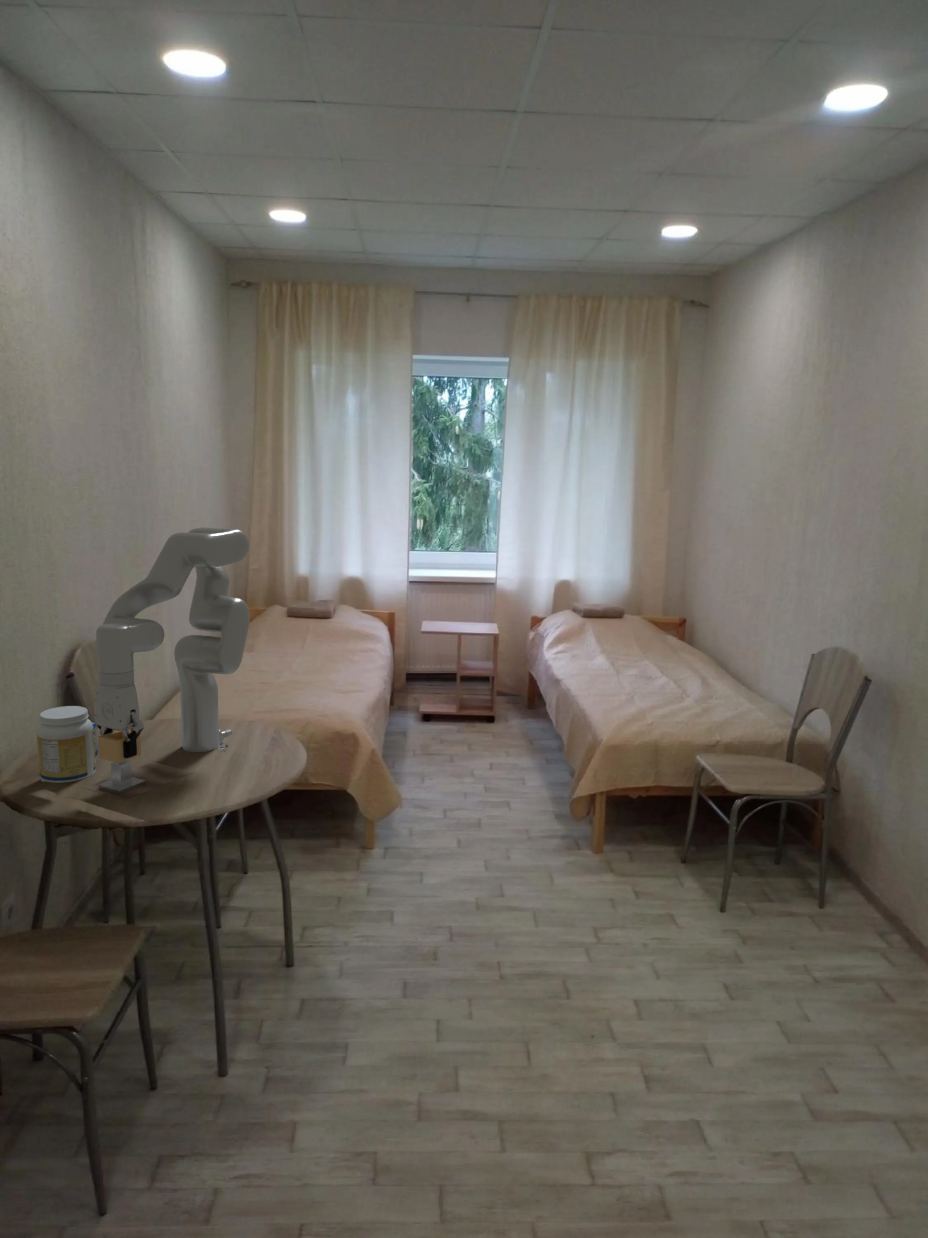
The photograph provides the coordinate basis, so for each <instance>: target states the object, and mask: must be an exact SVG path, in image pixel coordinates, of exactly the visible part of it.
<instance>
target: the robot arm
mask: <svg viewBox="0 0 928 1238" xmlns="http://www.w3.org/2000/svg"><path fill="white" fill-rule="evenodd" d="M249 549H250V541H249V539H248V537H247V535H246V534H245V533H244V531H242V530H240V529H236V528H218V527H195V528H193V529H191V530H189V531H187V532H185V531H184V532H183V531H182V532H176V533H174V534H171V535H170V536H169V537H168V538H167V540H166V542H165V543H164V545H163V547H162V549H161V550H160V552H159V554H158V556H157V558H156V559H155V562H154V563H153V565H152V566H151V569H150V570H149V573H148V575H147V576H146V577H145V578H144V579H142V580H141V581H139V582H137V583H135V584H134V585H133V586H132V587H131V588H129V589H127V590H126V591H124V592H123V593H122V594H121V595H119V597H118V598H117V599H116V600H115V601H114V603H112V606H111V607H110V609H109V610H108V613H107V614H106V616H105V618H104V621H102V622H103V623H102V625H99V626H98V627H97V629H96V631H95V639H96V640H95V641H96V642H95V643H96V657H97V658H96V659H97V676H98V677H97V678H98V679H97V681H98V683H96V687H95V692H94V695H95V696H94V715H93V720H94V723H96V727H98V729H99V730H100V731H99V734H100V735H99V736H102V735H105V734H108V733H112V732H115V731H118V730H119V731H122V732H123V735H124V738H125V741H123V747H124V758H130V757H132V756H135V755H137V740H136V739H138V736H139V735H140V736H141V733H142V732H143V730H144V729H145V725H144V724H143V722H142V720H141V719H140V708H139V707H140V706H139V699H138V693H137V692H138V691H137V689H136V688H137V687H136V684H135V668H134V667H135V665H134V654H135V653H144V652H145V653H146V652H151V651H154V650H156V649H158V648H159V647H160V646H161V645H162V644H163V642H164V639H165V630H164V628H163V626H162V625H161V623H159V622H157V621H156V620H153V619H148V618H137V617H136V616H137V615H139V614H140V613H141V612H143V611H144V610H145V609H147V608H150V607H153V606H155V605H158V604H161V603H165V602H167V601H170V600H172V599H174V598H176V597H178V596H179V594H180V593H181V592H182V590H183V588H184V586H185V584H186V582H187V580H188V578H189V576H190V574H191V572H192V571H193V569H194V568H195V572H196V580H195V587H194V592H193V596H192V599H191V605H190V608H189V615H188V621H189V624H190V626H191V627H192V628H193V629H195V630H199V631H203V632H210V633H221V634H220V636H212V635H201V634H200V635H199V634H191V635H190V634H189V635H185V636H183V637H181V638H180V639H179V640H177V642H176V644H175V647H174V651H173V652H174V653H173V654H174V661H175V662H174V663H175V665H176V668H177V673H178V679H179V694H180V695H179V696H180V697H179V699H180V718H181V719H180V722H181V740H182V741H181V742H182V743H181V744H182V745H181V747H182V749H183V751H186V752H190V753H203V752H210V751H213V750H217V751H220V752H223V753H224V752H225V751H226V749H227V747H226V743H225V742H223V740H224V739H225V738H228V737H231V736H233V731H232V730H231V729H230V728H229V729H225V730H223V731H222V730H221V729H220V722H219V721H220V720H219V718H220V717H219V688H218V682H217V680H216V677H215V676H214V674H215V675H216V674H217V675H231V674H234V673H236V672H237V671H238V669H239V668H240V665H241V664H242V661H243V657H244V652H245V647H246V641H247V637H248V633H249V627H250V622H251V621H250V619H251V618H250V617H251V613H250V609H249V606H248V604H247V602H246V601H244V600H243V599H242V598H239V597H231V596H228V594H229V588H230V575H229V573H228V571H227V568H226V567H225V566H229V565H231V564H235V563H239V562H241V561H242V560H243V559H245V558H246V556H247V555H248V552H249ZM114 730H115V731H114ZM129 730H130V732H131V733H130V734H129V733H128V731H129ZM130 759H131V758H130Z"/></svg>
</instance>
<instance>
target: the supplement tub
mask: <svg viewBox="0 0 928 1238" xmlns="http://www.w3.org/2000/svg"><path fill="white" fill-rule="evenodd" d="M89 716H90V715H89V713H88V708H87V707H83V706H80V705H66V706H57V707H53V708H48V709H46V710H43V711H42V712H40V714H39V723H40V724H39V725H38V726H37V730H36V739H37V752H38V753H37V754H38V764H39V766H38V767H39V774H40V775H39V777H40V778H39V779H40V780H41V782H42V783H45V782H47V783H59V784H60V783H71V782H75V781H76V782H77V781H80V780H83V779H86V778H89V777H91V776H93V775H94V774H95V773H96V772H97V769H96V755H95V751H94V735H93V724H92V723H93V722H92V721H91V720H90V719H89Z"/></svg>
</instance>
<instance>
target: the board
mask: <svg viewBox="0 0 928 1238" xmlns="http://www.w3.org/2000/svg"><path fill="white" fill-rule="evenodd" d="M131 771H132V777H135V778H138V779H142V780H145V781H146V785H144V786H141V787H139V788H136V789H134V790H131V791H129V792H126V793H123V794H121V795H119V794H116V793H112V792H109V791H106V790H102V789H99V784H101V783H104V782H106V781H109V780H112V776H111V777H109V778H106V779H104V780H100V781H97V782H95V783H92V784H90V785H87V786H84V787H83V789H87V790H91V791H94V792H97V793H100V794H104V795H107V796H110V797H114V798H116V799H120V800H123V801H127V800H129V799H132V798H134V797H137V796H139V795H141V794H144V793H147V792H149V791H151V790H154V789H157V788H159V787H161V786H164V785H166V784H168V783H171V782H174V781H176V780H178V779H182V778H185V777H187V776H189V775H192V774H194V772H193V771H189V770H185V769H181V768H177V767H174V766H170V765H166V764H164V763H163V764H162V763H159V762H155V761H152V762H149V763H147V764H144V765H141V766H139V767H135V768H133V769H131Z"/></svg>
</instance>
